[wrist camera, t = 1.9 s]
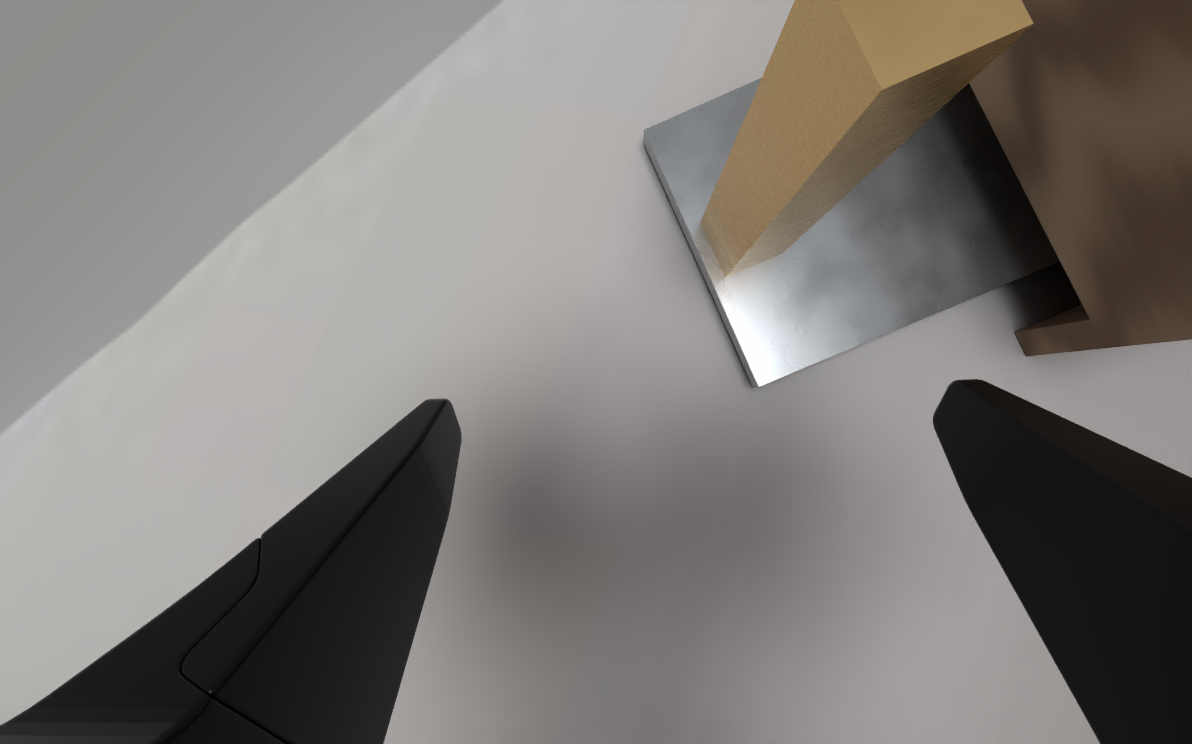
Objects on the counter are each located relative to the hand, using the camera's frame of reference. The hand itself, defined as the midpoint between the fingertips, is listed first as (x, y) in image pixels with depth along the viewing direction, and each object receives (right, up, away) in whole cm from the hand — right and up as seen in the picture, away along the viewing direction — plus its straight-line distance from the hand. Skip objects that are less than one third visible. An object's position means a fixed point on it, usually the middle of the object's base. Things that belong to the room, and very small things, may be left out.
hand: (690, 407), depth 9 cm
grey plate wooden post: (+15, +11, +13) cm, 23 cm away
